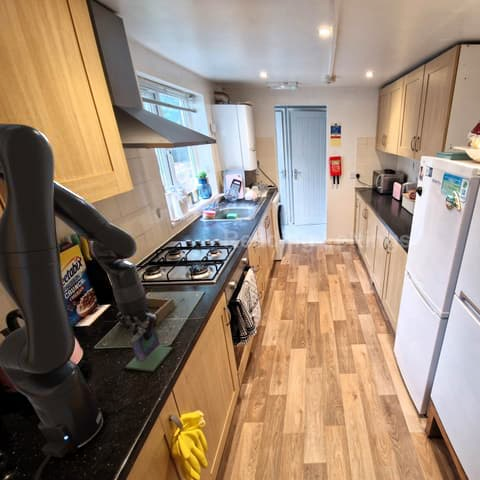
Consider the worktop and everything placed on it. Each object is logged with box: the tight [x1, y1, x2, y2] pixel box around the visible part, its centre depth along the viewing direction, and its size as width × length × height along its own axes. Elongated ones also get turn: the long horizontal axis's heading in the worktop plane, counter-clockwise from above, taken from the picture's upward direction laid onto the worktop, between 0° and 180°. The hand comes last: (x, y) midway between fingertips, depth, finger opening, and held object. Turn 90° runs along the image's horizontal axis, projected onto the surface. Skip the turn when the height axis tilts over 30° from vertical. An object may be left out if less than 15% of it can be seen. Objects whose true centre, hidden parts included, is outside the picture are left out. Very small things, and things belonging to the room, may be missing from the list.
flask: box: [130, 326, 161, 362], centre depth 89 cm, size 9×3×11 cm, turn 172°
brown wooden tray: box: [119, 296, 176, 327], centre depth 112 cm, size 14×14×4 cm
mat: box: [125, 345, 174, 372], centre depth 91 cm, size 10×10×1 cm
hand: (144, 338), depth 88 cm, fingers closed on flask, 3 cm apart
